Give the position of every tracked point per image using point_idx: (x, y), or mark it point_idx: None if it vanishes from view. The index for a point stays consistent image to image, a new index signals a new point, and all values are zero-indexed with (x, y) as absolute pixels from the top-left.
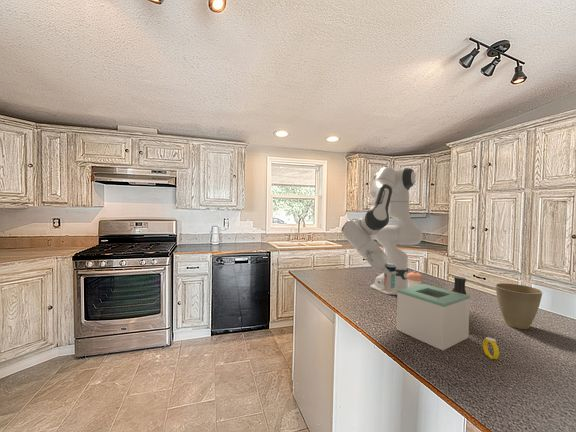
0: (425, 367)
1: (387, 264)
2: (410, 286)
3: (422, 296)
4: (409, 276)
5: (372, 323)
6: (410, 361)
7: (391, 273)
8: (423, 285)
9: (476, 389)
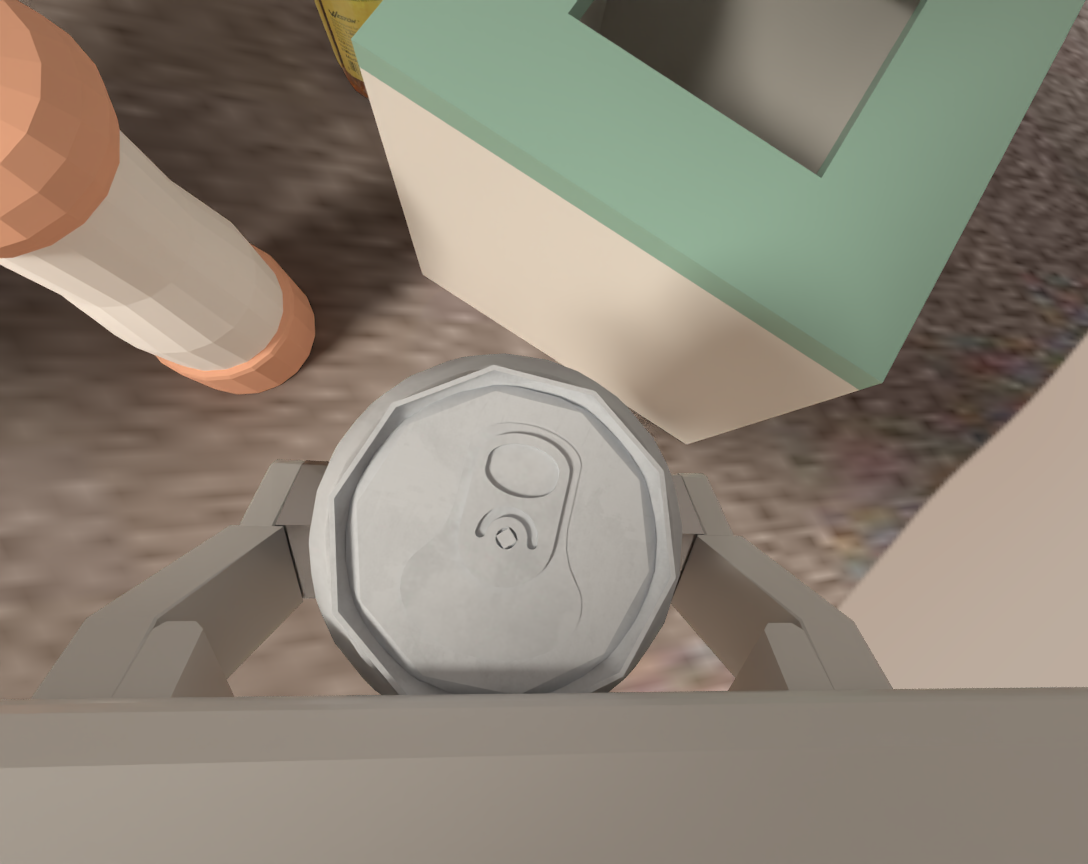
0: (1034, 299)
1: (648, 619)
2: (146, 261)
3: (984, 111)
4: (42, 196)
5: (667, 614)
6: (1022, 362)
7: (681, 475)
8: (461, 50)
9: (1078, 131)
